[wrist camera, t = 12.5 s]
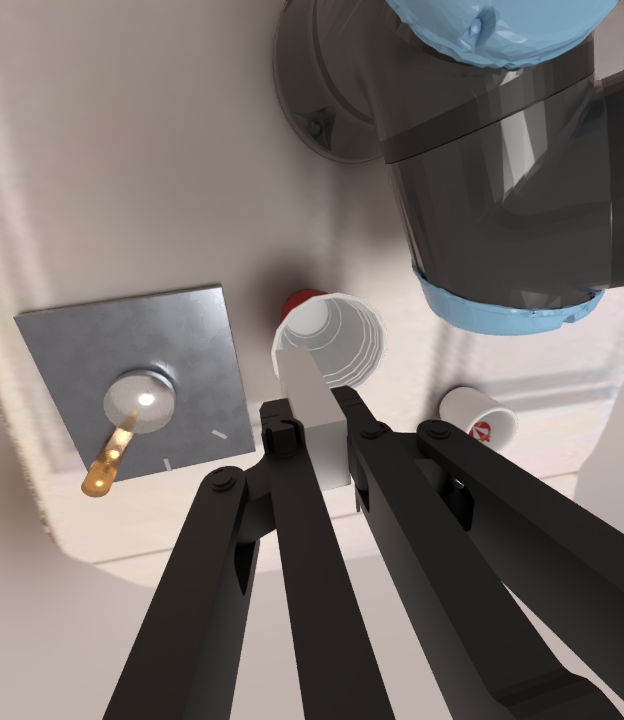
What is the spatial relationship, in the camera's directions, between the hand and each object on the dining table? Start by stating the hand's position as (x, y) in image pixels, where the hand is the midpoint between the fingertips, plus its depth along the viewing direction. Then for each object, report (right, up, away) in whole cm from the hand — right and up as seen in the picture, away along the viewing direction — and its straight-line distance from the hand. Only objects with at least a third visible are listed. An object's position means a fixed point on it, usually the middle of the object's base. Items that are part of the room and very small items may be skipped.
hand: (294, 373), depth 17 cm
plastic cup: (0, +6, +25) cm, 26 cm away
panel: (-18, -3, +24) cm, 30 cm away
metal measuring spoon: (-20, -6, +23) cm, 31 cm away
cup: (+21, -7, +36) cm, 42 cm away
